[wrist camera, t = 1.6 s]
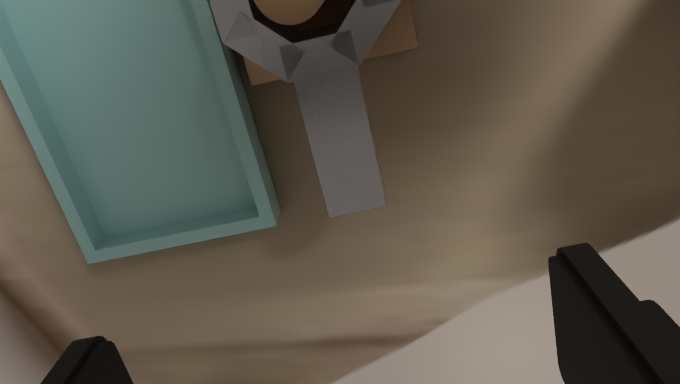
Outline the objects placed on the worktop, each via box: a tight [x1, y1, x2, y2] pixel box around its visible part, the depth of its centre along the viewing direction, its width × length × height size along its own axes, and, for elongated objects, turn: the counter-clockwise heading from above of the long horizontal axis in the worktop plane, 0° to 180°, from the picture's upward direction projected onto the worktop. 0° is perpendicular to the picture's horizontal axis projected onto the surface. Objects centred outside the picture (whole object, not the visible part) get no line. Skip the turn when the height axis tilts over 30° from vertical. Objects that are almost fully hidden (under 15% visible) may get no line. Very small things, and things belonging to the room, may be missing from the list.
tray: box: [0, 0, 281, 264], centre depth 25 cm, size 18×10×2 cm, turn 13°
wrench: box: [209, 0, 401, 218], centre depth 21 cm, size 12×6×4 cm, turn 13°
